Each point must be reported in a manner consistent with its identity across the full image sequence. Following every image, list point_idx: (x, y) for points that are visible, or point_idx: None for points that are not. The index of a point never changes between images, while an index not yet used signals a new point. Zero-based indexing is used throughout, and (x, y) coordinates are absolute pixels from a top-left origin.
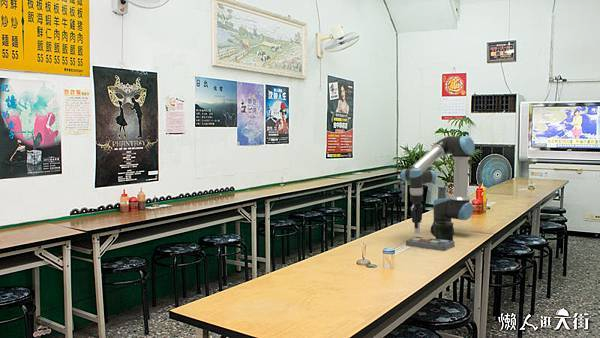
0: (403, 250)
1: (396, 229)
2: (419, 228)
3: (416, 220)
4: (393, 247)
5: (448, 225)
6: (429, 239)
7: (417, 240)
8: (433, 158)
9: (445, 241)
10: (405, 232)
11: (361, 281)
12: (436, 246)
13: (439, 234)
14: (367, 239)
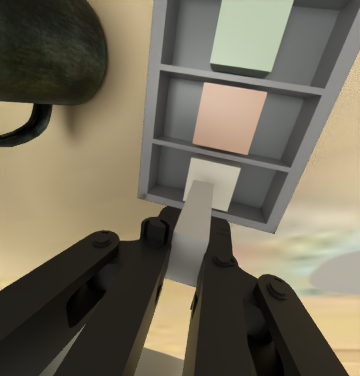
0: (353, 211)
1: (4, 284)
2: (193, 198)
3: (280, 307)
4: (286, 263)
5: None
6: (225, 86)
7: (238, 173)
8: None
9: None
10: (18, 257)
11: None
12: None
13: (66, 50)
14: (175, 345)
